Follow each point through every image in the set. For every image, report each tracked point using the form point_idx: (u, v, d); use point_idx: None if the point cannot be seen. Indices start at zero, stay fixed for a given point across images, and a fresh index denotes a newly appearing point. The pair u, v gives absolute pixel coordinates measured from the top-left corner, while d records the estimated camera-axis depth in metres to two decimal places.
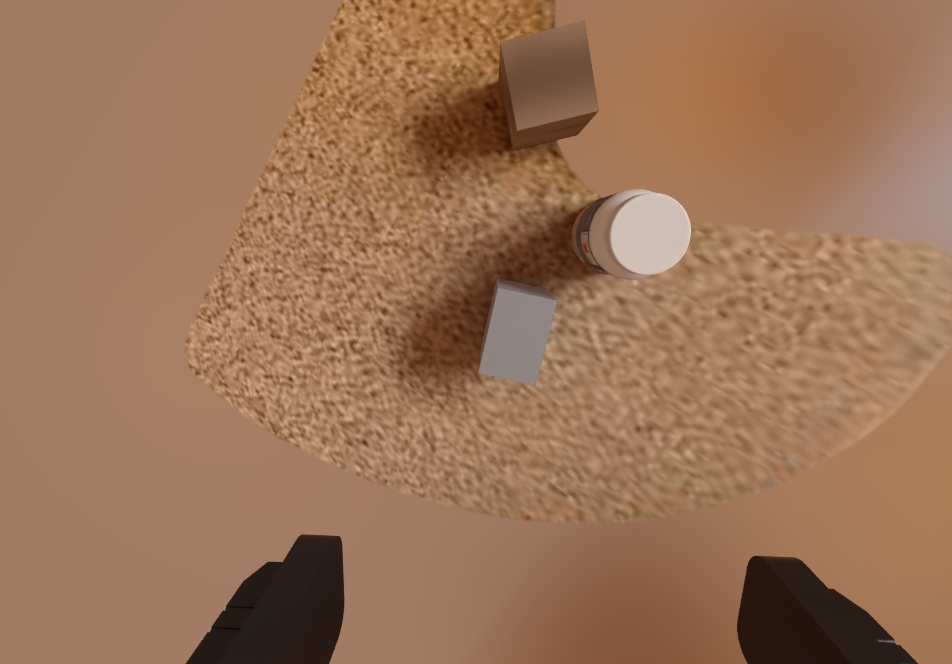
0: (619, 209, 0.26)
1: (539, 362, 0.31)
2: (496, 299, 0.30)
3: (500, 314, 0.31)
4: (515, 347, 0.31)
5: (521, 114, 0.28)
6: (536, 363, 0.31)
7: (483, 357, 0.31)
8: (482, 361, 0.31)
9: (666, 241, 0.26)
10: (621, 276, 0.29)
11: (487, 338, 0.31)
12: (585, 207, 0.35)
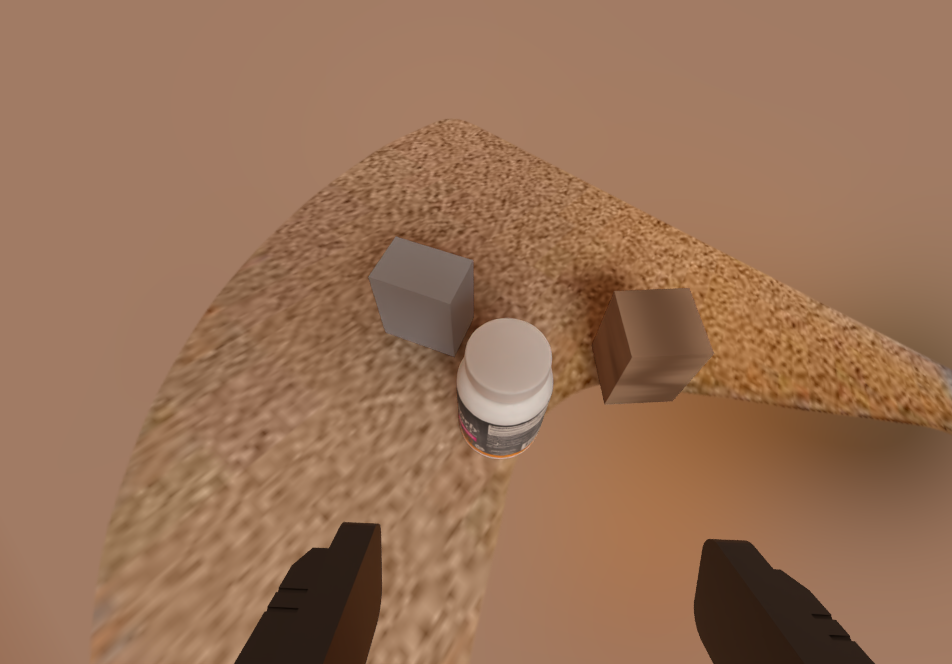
0: None
1: (391, 282, 0.31)
2: (462, 258, 0.32)
3: (447, 259, 0.32)
4: (411, 266, 0.31)
5: (628, 295, 0.30)
6: (391, 280, 0.31)
7: (409, 241, 0.33)
8: (406, 240, 0.33)
9: (499, 367, 0.24)
10: (463, 358, 0.27)
11: (427, 246, 0.32)
12: None
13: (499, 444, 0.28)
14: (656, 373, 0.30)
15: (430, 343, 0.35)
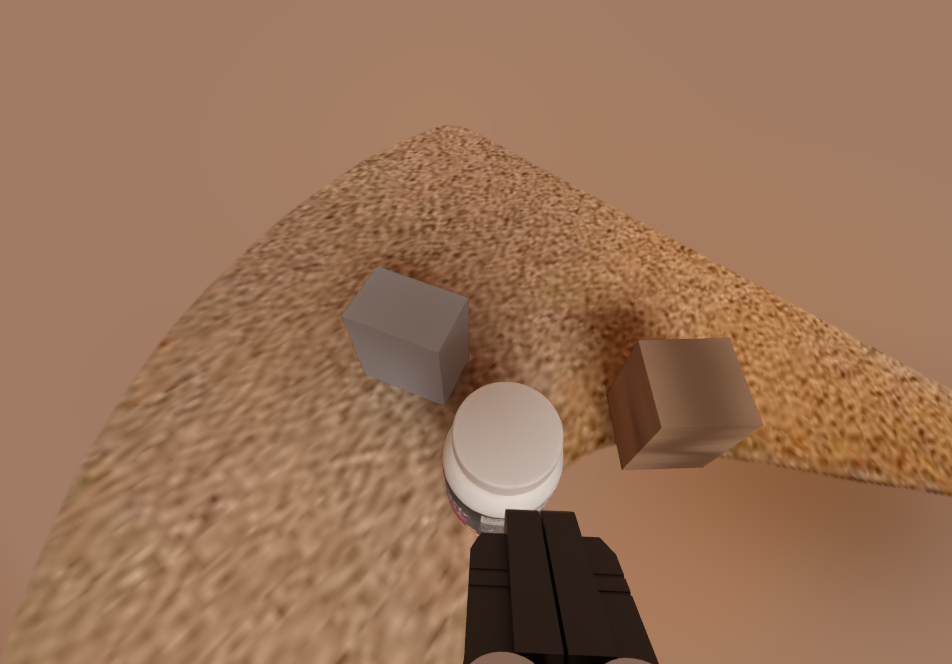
0: (546, 398, 0.20)
1: (368, 324, 0.25)
2: (455, 294, 0.27)
3: (437, 295, 0.27)
4: (393, 304, 0.26)
5: (655, 346, 0.25)
6: (368, 320, 0.26)
7: (393, 273, 0.27)
8: (388, 271, 0.28)
9: (495, 451, 0.19)
10: (452, 426, 0.22)
11: (413, 279, 0.27)
12: None
13: (495, 530, 0.23)
14: (688, 442, 0.24)
15: (416, 390, 0.30)
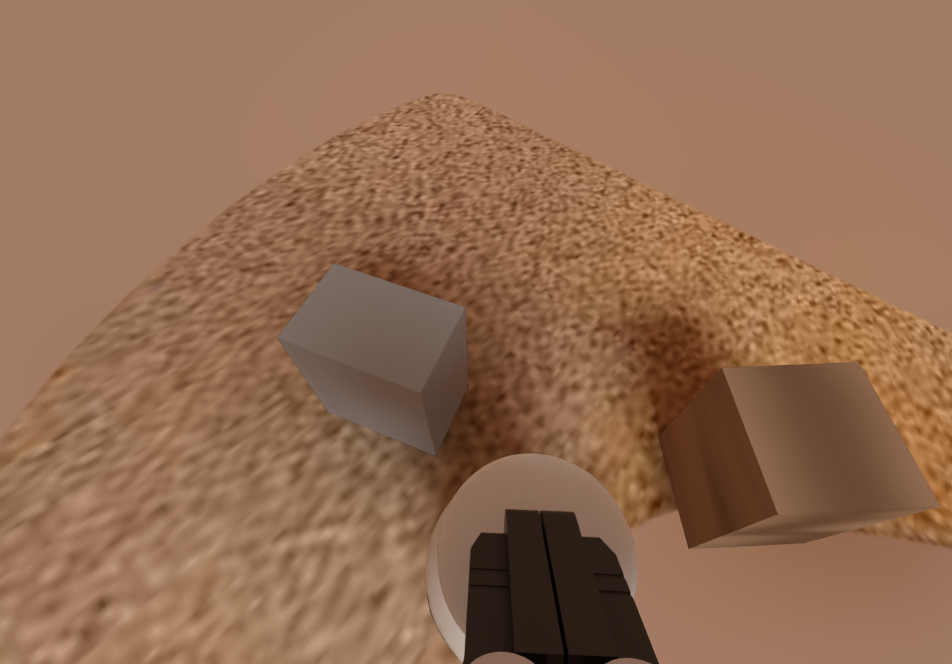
0: (600, 483, 0.12)
1: (316, 349, 0.17)
2: (446, 302, 0.18)
3: (419, 304, 0.18)
4: (356, 318, 0.18)
5: (749, 377, 0.16)
6: (316, 344, 0.17)
7: (356, 272, 0.19)
8: (350, 271, 0.19)
9: None
10: (440, 518, 0.14)
11: (385, 282, 0.19)
12: None
13: None
14: (805, 525, 0.16)
15: (396, 435, 0.22)
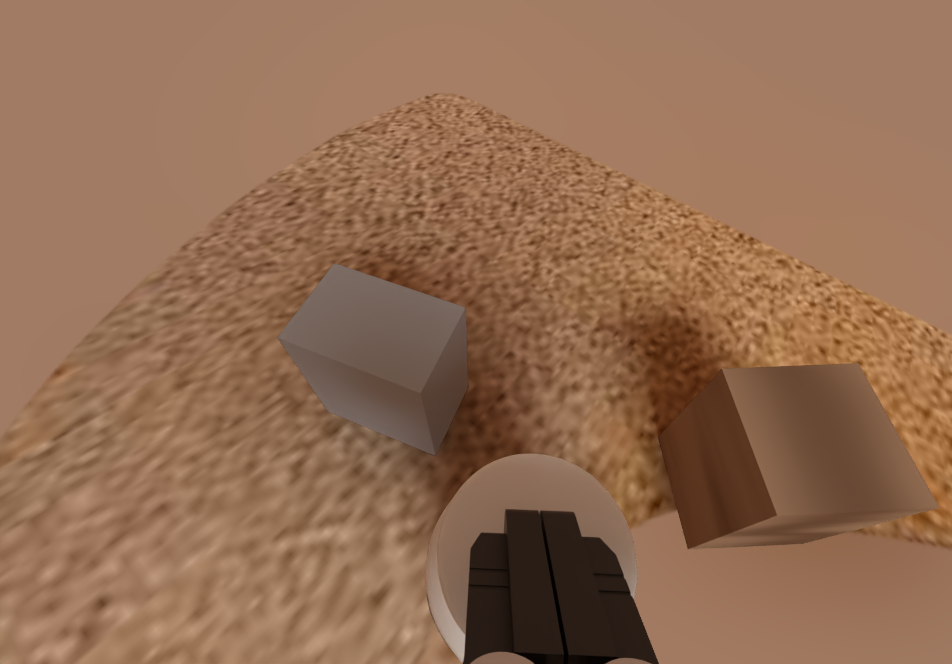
0: None
1: (316, 349, 0.17)
2: (446, 303, 0.18)
3: (419, 304, 0.18)
4: (356, 318, 0.18)
5: (749, 378, 0.16)
6: (316, 344, 0.17)
7: (357, 272, 0.19)
8: (351, 271, 0.19)
9: None
10: (440, 519, 0.14)
11: (386, 282, 0.19)
12: None
13: None
14: (805, 526, 0.16)
15: (396, 435, 0.22)
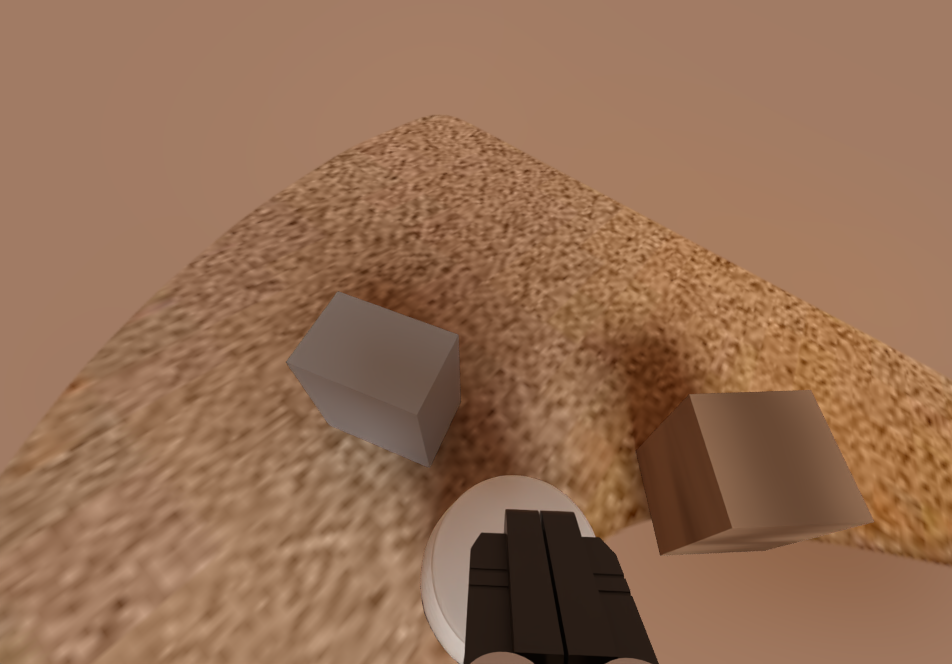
0: None
1: (322, 373, 0.19)
2: (441, 330, 0.20)
3: (416, 331, 0.20)
4: (358, 344, 0.19)
5: (713, 403, 0.18)
6: (322, 368, 0.19)
7: (359, 300, 0.21)
8: (353, 299, 0.21)
9: None
10: (434, 531, 0.15)
11: (385, 309, 0.20)
12: None
13: None
14: (760, 536, 0.18)
15: (393, 448, 0.23)
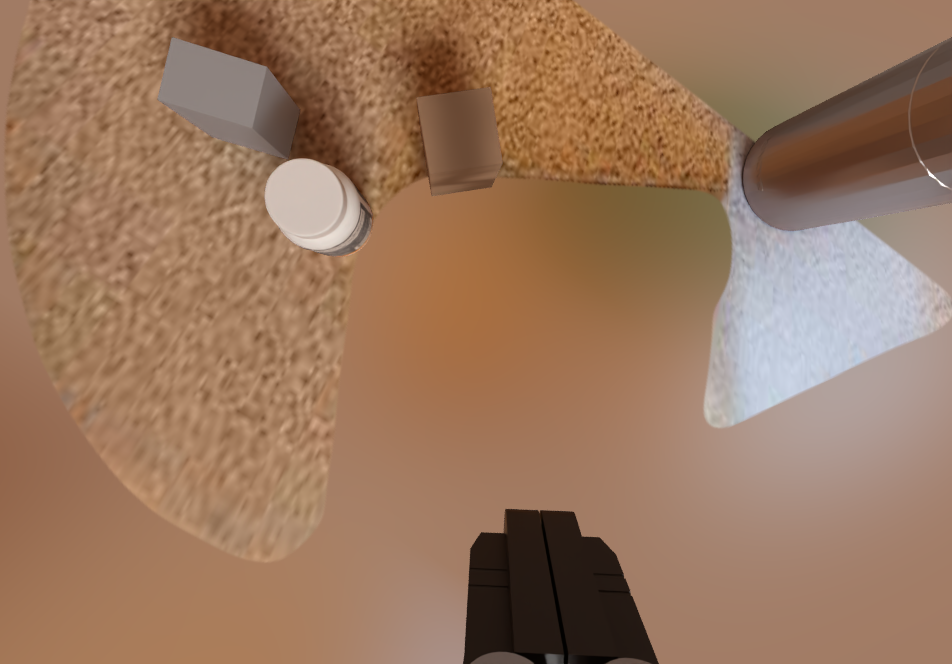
0: (328, 168, 0.28)
1: (184, 105, 0.29)
2: (254, 64, 0.30)
3: (238, 67, 0.30)
4: (201, 81, 0.29)
5: (430, 102, 0.31)
6: (183, 102, 0.29)
7: (190, 44, 0.29)
8: (185, 43, 0.29)
9: (297, 212, 0.28)
10: None
11: (211, 50, 0.29)
12: (364, 198, 0.37)
13: (331, 253, 0.34)
14: (460, 177, 0.33)
15: (259, 149, 0.36)
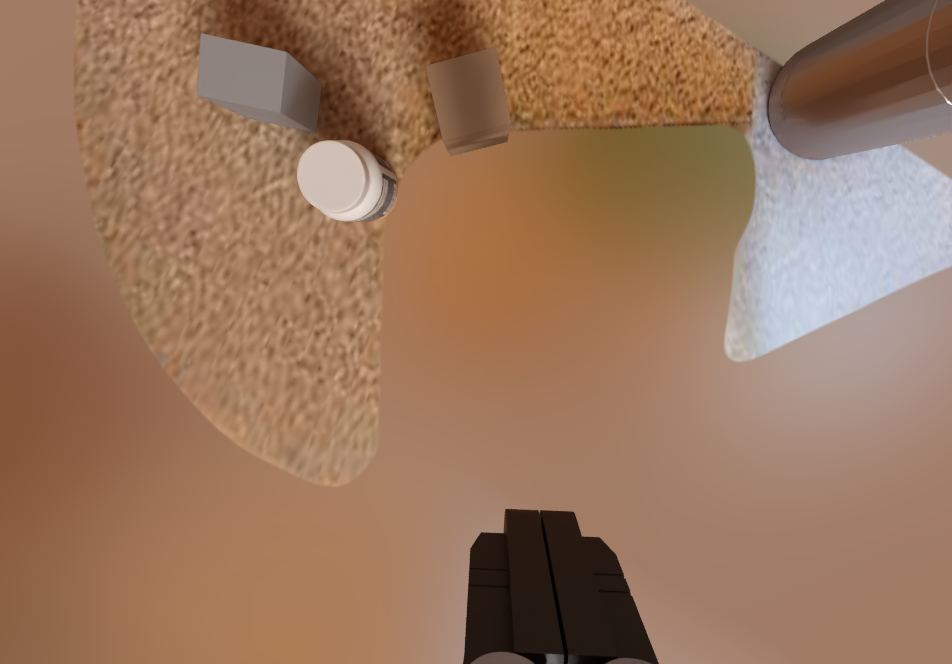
0: (349, 147, 0.30)
1: (220, 98, 0.33)
2: (275, 50, 0.32)
3: (261, 55, 0.32)
4: (231, 72, 0.32)
5: (438, 69, 0.32)
6: (218, 94, 0.33)
7: (217, 38, 0.32)
8: (213, 37, 0.32)
9: (326, 191, 0.31)
10: None
11: (236, 42, 0.32)
12: None
13: (362, 221, 0.38)
14: (474, 139, 0.35)
15: (289, 126, 0.39)
